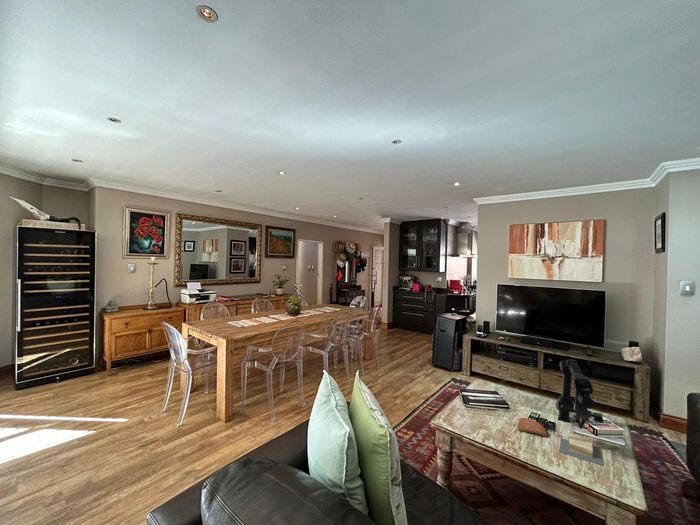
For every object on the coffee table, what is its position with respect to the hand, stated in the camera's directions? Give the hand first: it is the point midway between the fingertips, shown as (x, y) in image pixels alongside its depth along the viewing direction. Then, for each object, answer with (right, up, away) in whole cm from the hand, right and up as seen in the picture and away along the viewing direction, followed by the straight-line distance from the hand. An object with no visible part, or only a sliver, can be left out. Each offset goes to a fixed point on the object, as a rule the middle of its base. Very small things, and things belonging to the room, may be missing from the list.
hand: (580, 428), depth 170 cm
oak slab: (+1, -7, +2) cm, 8 cm away
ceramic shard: (-18, -10, +17) cm, 26 cm away
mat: (-4, -10, -5) cm, 12 cm away
